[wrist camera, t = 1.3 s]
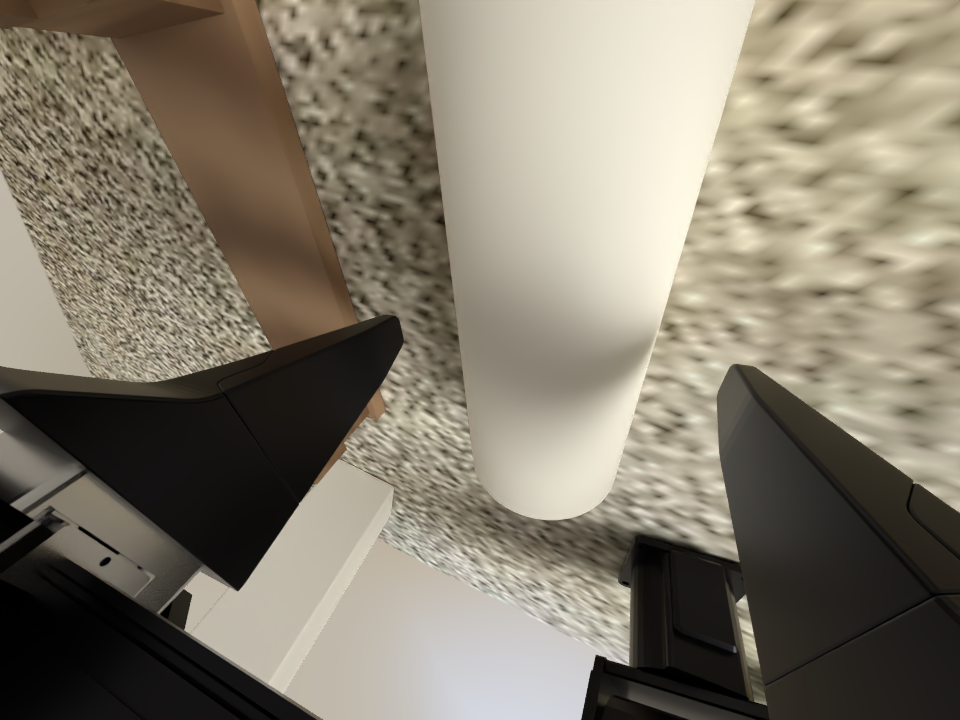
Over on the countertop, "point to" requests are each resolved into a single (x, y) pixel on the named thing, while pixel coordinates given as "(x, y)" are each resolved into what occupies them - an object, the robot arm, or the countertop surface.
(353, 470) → the milk
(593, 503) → the kitchen roll
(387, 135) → the countertop surface
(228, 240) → the bracket
